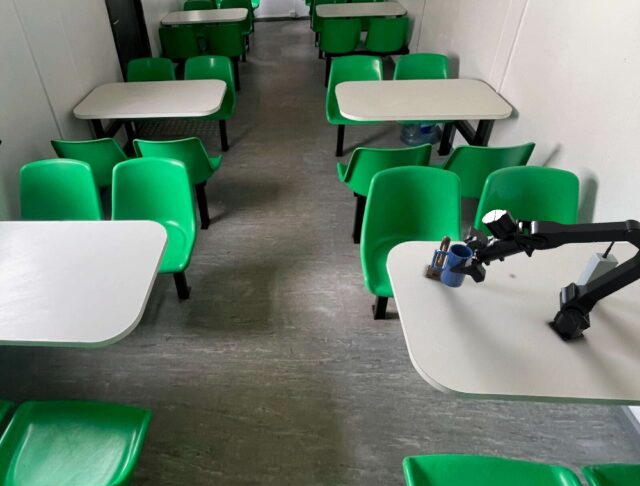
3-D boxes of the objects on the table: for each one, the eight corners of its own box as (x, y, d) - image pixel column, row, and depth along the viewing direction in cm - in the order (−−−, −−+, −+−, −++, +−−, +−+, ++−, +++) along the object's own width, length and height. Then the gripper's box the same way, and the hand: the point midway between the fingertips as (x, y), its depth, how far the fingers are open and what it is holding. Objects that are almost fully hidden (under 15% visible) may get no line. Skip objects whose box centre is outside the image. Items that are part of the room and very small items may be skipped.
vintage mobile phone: (593, 301, 131) (633, 240, 116) (575, 299, 132) (612, 238, 117) (588, 293, 134) (626, 232, 119) (571, 291, 135) (606, 230, 120)
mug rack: (446, 272, 144) (458, 234, 134) (439, 299, 134) (452, 260, 124) (428, 266, 146) (439, 229, 136) (420, 293, 136) (431, 254, 126)
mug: (463, 276, 134) (474, 247, 127) (461, 290, 129) (471, 261, 122) (430, 266, 138) (438, 238, 131) (426, 279, 133) (434, 250, 126)
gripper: (489, 208, 124) (441, 227, 135) (483, 245, 111) (430, 263, 122) (510, 236, 125) (461, 252, 136) (507, 276, 112) (453, 291, 123)
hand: (451, 263), depth 130 cm, fingers closed on mug, 6 cm apart
